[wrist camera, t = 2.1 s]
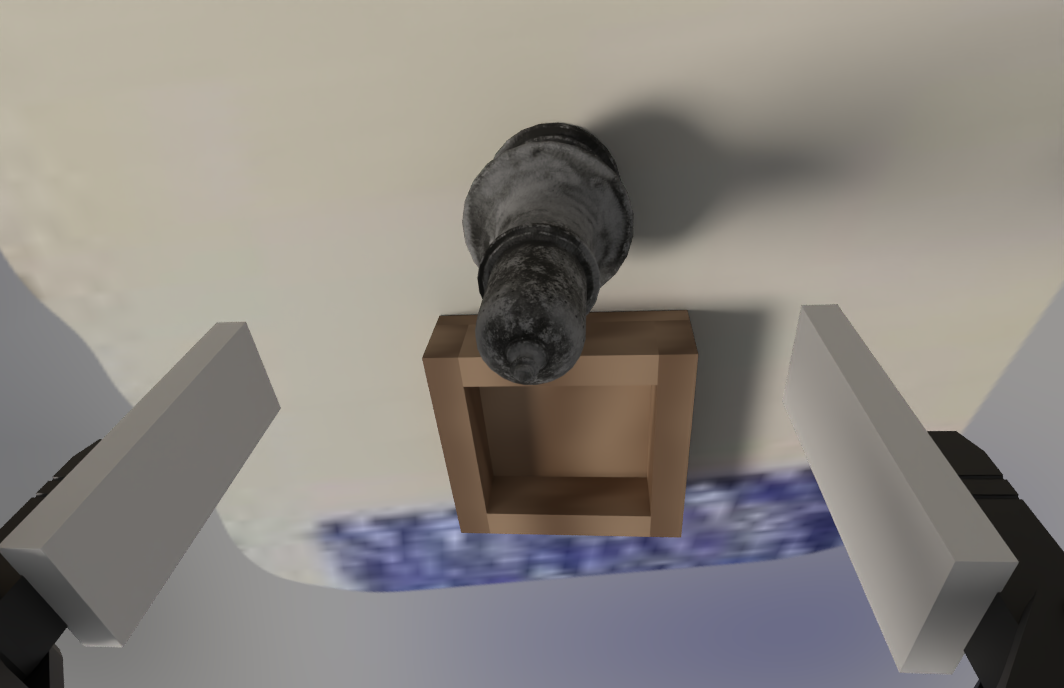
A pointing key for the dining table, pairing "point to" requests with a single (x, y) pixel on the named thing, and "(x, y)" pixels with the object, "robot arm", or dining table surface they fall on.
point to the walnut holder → (570, 430)
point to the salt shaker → (544, 247)
